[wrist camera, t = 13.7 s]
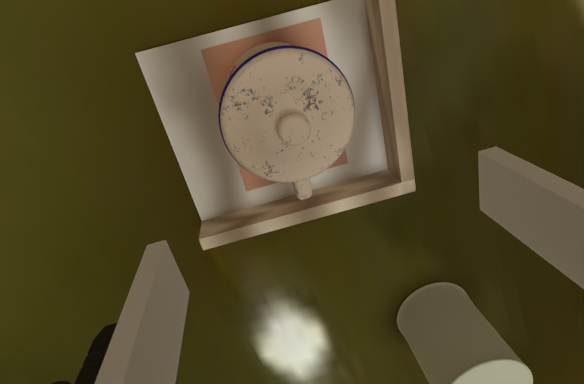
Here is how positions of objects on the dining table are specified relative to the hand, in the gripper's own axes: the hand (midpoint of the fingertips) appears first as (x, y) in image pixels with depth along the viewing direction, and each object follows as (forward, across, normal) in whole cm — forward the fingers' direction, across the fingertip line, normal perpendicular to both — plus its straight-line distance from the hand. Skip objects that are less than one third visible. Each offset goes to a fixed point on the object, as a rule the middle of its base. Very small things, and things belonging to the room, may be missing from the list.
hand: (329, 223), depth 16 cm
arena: (+21, 0, -1) cm, 21 cm away
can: (+21, +12, -29) cm, 38 cm away
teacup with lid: (+20, 0, 0) cm, 20 cm away
